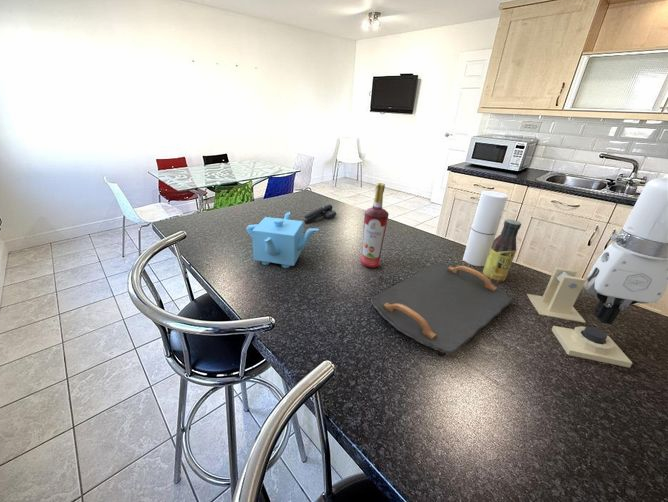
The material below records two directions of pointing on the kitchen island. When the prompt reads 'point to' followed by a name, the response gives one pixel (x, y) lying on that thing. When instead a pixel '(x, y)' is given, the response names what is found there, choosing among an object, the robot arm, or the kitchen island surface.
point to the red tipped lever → (568, 275)
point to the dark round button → (594, 335)
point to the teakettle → (278, 240)
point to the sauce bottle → (502, 252)
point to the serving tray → (442, 306)
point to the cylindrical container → (484, 227)
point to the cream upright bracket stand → (560, 296)
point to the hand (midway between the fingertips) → (601, 319)
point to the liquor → (374, 230)
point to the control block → (590, 347)
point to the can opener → (320, 213)
